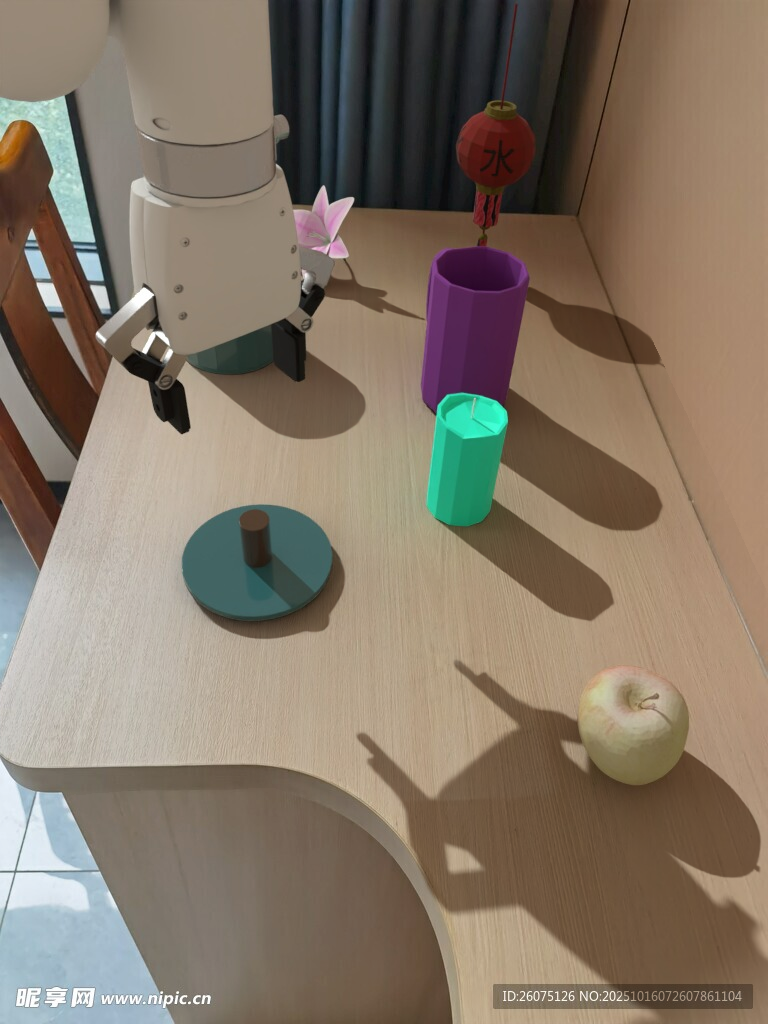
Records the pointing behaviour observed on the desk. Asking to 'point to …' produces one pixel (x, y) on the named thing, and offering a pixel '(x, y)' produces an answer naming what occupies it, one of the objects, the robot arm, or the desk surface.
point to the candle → (465, 458)
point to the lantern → (494, 153)
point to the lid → (257, 562)
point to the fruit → (633, 724)
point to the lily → (323, 226)
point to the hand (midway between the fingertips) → (234, 397)
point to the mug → (472, 323)
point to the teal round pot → (237, 354)
